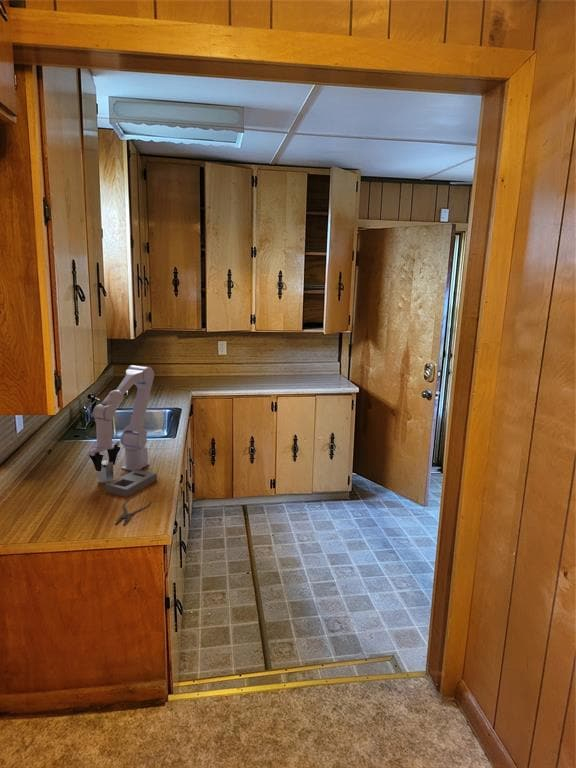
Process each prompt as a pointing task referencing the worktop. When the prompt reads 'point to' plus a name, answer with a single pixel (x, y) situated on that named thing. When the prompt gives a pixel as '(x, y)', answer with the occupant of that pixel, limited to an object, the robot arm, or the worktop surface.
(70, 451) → the worktop surface
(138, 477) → the socket plate
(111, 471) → the peg
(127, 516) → the pliers
